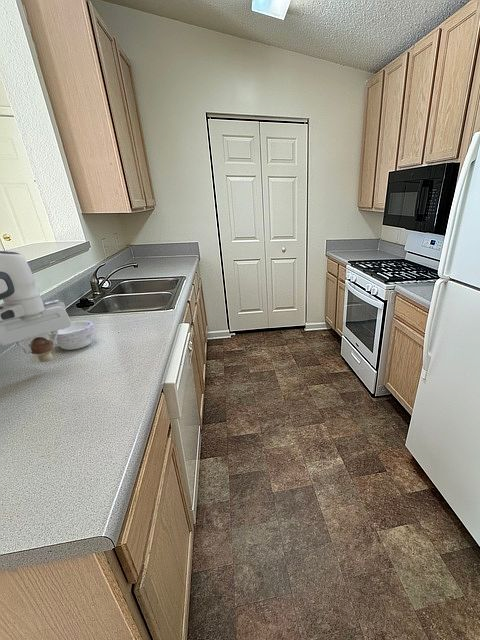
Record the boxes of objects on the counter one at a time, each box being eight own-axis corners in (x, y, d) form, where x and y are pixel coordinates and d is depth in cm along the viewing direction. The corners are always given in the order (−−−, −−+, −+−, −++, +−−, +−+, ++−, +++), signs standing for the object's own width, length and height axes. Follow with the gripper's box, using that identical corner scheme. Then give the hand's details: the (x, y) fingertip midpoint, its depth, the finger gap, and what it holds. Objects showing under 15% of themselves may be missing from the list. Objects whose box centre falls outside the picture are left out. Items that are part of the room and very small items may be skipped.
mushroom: (40, 365, 104) (31, 342, 100) (31, 361, 106) (22, 338, 103) (60, 358, 108) (52, 336, 105) (51, 354, 111) (43, 332, 108)
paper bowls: (61, 340, 136) (54, 322, 132) (102, 335, 140) (96, 317, 136) (48, 356, 123) (40, 336, 119) (94, 350, 127) (87, 330, 123)
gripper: (57, 297, 109) (70, 336, 115) (-21, 314, 93) (-1, 358, 99) (67, 299, 106) (80, 339, 112) (-12, 317, 90) (8, 362, 96)
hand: (41, 348), depth 106 cm, fingers closed on mushroom, 6 cm apart
